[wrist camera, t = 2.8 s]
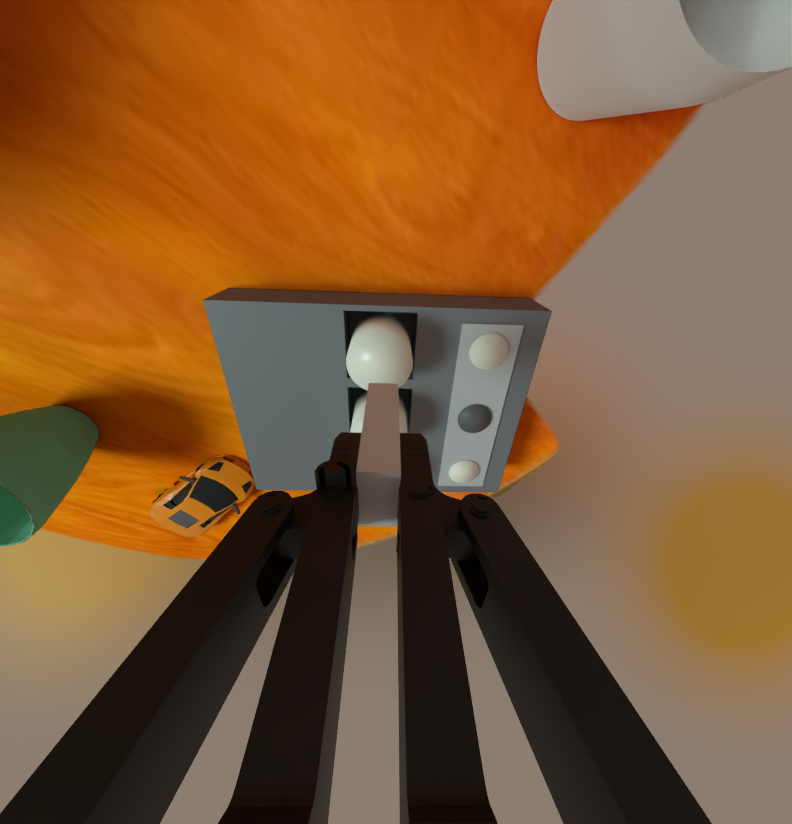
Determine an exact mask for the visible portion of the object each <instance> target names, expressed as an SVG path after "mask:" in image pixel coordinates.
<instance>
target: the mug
mask: <svg viewBox="0 0 792 824" xmlns="http://www.w3.org/2000/svg"><path fill="white" fill-rule="evenodd" d="M98 438H99V430H98V428H97V426H96V425H95V423H94V422H93V421H92V420H91V419H90V418H89V417H88V416H86V415H85V414H83V413H82V412H80V411H78V410H75V409H73V408H71V407H66V406H49V407H43V408H37V409H31V410H25V411H20V412H16V413H12V414H8V415H3V416H0V546H10V545H14V544H18V543H22V542H24V541H25V540H27V539H28V538H30V537H31V536H32V535H33V534H35V533H36V532H37V531H38V530H39V529H40V528H41V527H42V526H43V525H44V524H45V523H46V521H47V520H48V518H49V517H50V516H51V514H52V513H53V512H54V511H55V509H56V508H57V507H58V505H59V504H60V503H61V501H62V500H63V499H64V497H65V496H66V494H67V493H68V492H69V490H70V489H71V488H72V486H73V485H74V483H75V482H76V481H77V479H78V477H79V476H80V474H81V472H82V470H83V469H84V467H85V465H86V464H87V462H88V460H89V458H90V456H91V454H92V451H93V449H94V447H95V445H96V443H97V440H98Z"/></svg>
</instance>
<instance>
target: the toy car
mask: <svg viewBox="0 0 792 824" xmlns="http://www.w3.org/2000/svg"><path fill="white" fill-rule="evenodd" d="M179 479H181V480H179V481H178V482H175V483H173V485H172V486H171V487H170V488H169V489H166V490H165V491H164V492H163V493H162V494H160V495H159V496H158V497H157V499H156V500H154V501H153V502H152V505H151V508H150V511H149V515H150V516H151V517H152V519H153V520H154V521H155V522H156V523H158V524H160V525H162V526H164V527H165V528H167V529H169V530H171V531H173V532H175V533H177V534H179V535H181V536H186V537H195V536H199V535H202V534H204V533H206V532H207V531H208V530H209V529H210V528H211V527H212V526H214V525H215V524H216V523H217V522H218V521H219V520H220V519H221V518H222V517H223V516H224V515H225V514H226V513H227V512H228V511H229V510H230V509H232V508H233V509H234V511H235V512H236V513H237V514H240V510H239V509H238V507H237V506H236V504H238V503H240V502H243V501H244V500H246V499H247V498H248V496H249V495H250V494H251V492H252V491H253V489H254V487H255V482H254V478H253V475H252V471H251V468H250V467H249V466H247V465H246V464H245V463H243V462H242V461H240V460H238V459H236V458H234V457H232V456H230V455H217V456H214V457H211V458H209V459H208V460H207V461H206V463H205V464H202V465H201V466H200V467H199V466H198V468H197V469H196V471H195V472H193V473H191V474H190V475H188V476H186V477H182V476H180V478H179ZM175 484H177V485H175Z"/></svg>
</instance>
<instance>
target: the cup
mask: <svg viewBox="0 0 792 824" xmlns="http://www.w3.org/2000/svg"><path fill="white" fill-rule="evenodd" d="M791 67H792V0H553V1H552V3H551V5H550V7H549V9H548V12H547V14H546V17H545V20H544V23H543V26H542V30H541V34H540V38H539V44H538V53H537V71H538V79H539V84H540V87H541V91H542V93H543V96H544V98H545V100H546V102H547V103H548V105H549V106H550V107H551V109H552V110H553V111H554V112H556V113H557V114H558V115H560V116H561V117H563V118H565V119H568V120H572V121H586V120H593V119H601V118H609V117H616V116H624V115H632V114H639V113H647V112H654V111H662V110H669V109H676V108H684V107H691V106H695V105H699V104H703V103H707V102H712V101H715V100H717V99H720V98H723V97H726V96H728V95H730V94H732V93H734V92H736V91H738V90H741V89H743V88H745V87H747V86H749V85H752V84H754V83H756V82H759V81H761V80H763V79H765V78H768V77H770V76H772V75H775V74H777V73H780V72H782V71H784V70H786V69H789V68H791Z"/></svg>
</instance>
